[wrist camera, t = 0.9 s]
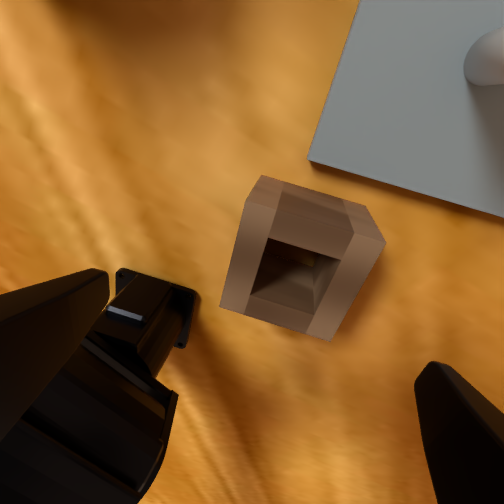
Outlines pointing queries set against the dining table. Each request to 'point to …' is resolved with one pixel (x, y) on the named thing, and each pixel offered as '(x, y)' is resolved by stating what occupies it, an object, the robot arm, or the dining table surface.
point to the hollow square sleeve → (293, 273)
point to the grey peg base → (421, 100)
